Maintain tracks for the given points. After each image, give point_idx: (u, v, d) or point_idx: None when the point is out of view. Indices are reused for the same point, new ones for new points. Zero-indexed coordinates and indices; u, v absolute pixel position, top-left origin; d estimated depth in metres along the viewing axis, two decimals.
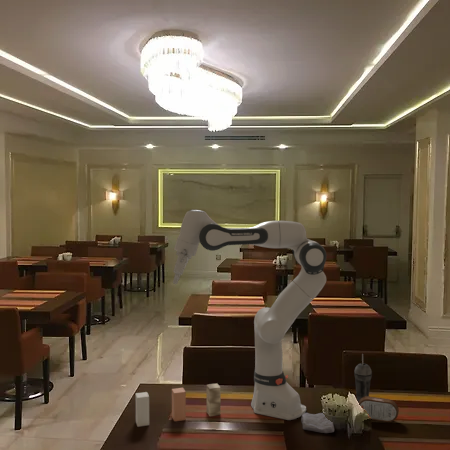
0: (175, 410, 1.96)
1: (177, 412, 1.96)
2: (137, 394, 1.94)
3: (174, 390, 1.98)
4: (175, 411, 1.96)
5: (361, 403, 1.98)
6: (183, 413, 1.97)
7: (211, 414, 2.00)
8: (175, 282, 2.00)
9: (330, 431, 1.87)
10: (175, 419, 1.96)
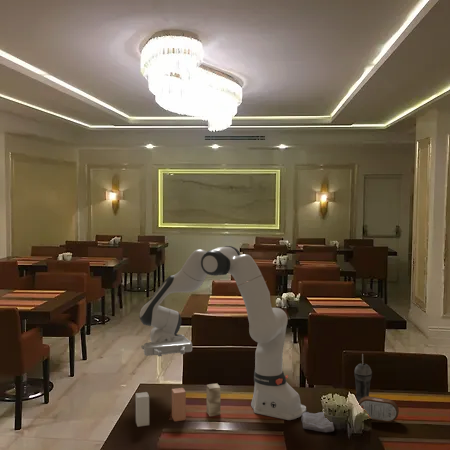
0: (175, 410, 1.96)
1: (177, 412, 1.96)
2: (137, 394, 1.94)
3: (174, 390, 1.98)
4: (175, 411, 1.96)
5: (361, 403, 1.98)
6: (183, 413, 1.97)
7: (211, 414, 2.00)
8: (158, 353, 2.08)
9: (330, 430, 1.88)
10: (175, 419, 1.96)
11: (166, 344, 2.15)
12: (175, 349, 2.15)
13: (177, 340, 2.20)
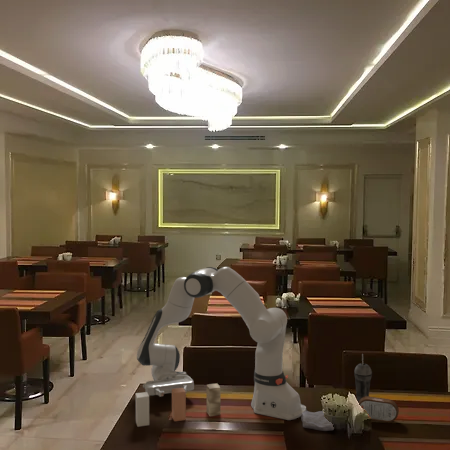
0: (175, 410, 1.96)
1: (177, 412, 1.96)
2: (137, 394, 1.94)
3: (174, 390, 1.98)
4: (175, 411, 1.96)
5: (361, 403, 1.98)
6: (183, 413, 1.97)
7: (211, 414, 2.00)
8: (159, 394, 2.07)
9: (330, 429, 1.89)
10: (175, 419, 1.96)
11: (168, 383, 2.14)
12: (177, 387, 2.14)
13: (179, 378, 2.19)
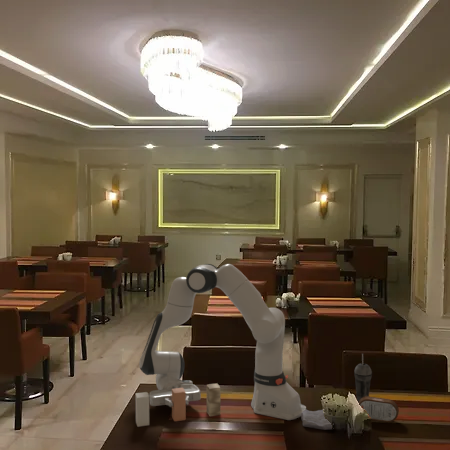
0: (175, 410, 1.96)
1: (177, 412, 1.96)
2: (137, 394, 1.94)
3: (174, 390, 1.98)
4: (175, 411, 1.96)
5: (361, 403, 1.98)
6: (183, 413, 1.97)
7: (211, 414, 2.00)
8: (169, 404, 1.97)
9: (330, 428, 1.90)
10: (175, 419, 1.96)
11: None
12: None
13: (185, 387, 2.09)
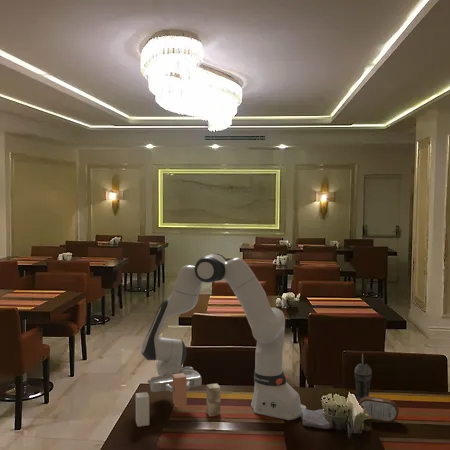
0: (176, 395, 1.95)
1: (178, 397, 1.96)
2: (137, 394, 1.94)
3: (175, 375, 1.97)
4: (176, 396, 1.95)
5: (361, 403, 1.98)
6: (184, 399, 1.96)
7: (211, 414, 2.00)
8: (170, 389, 1.96)
9: None
10: (176, 404, 1.95)
11: None
12: None
13: (185, 373, 2.08)
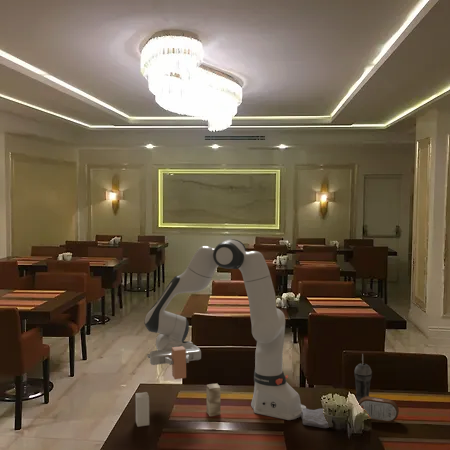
0: (175, 368, 1.95)
1: (177, 370, 1.95)
2: (137, 394, 1.94)
3: (174, 348, 1.97)
4: (175, 369, 1.95)
5: (361, 403, 1.98)
6: (183, 371, 1.96)
7: (211, 414, 2.00)
8: (169, 362, 1.96)
9: None
10: (175, 377, 1.95)
11: None
12: None
13: (185, 347, 2.07)
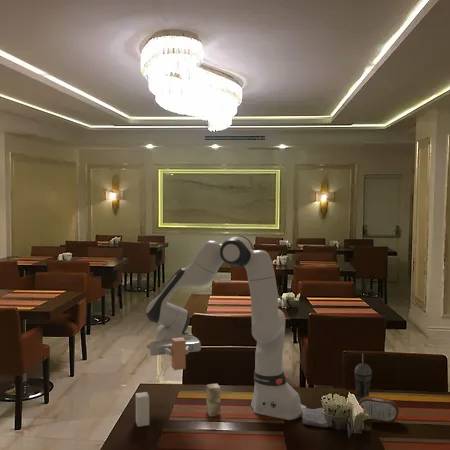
0: (175, 359, 1.94)
1: (176, 361, 1.95)
2: (137, 394, 1.94)
3: (174, 339, 1.96)
4: (175, 360, 1.94)
5: (361, 403, 1.98)
6: (183, 362, 1.96)
7: (211, 414, 2.00)
8: (169, 353, 1.95)
9: None
10: (175, 368, 1.95)
11: None
12: None
13: None
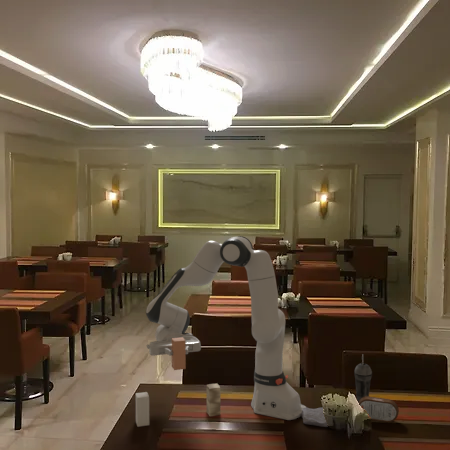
0: (175, 359, 1.94)
1: (176, 361, 1.95)
2: (137, 394, 1.94)
3: (174, 339, 1.96)
4: (175, 360, 1.94)
5: (361, 403, 1.98)
6: (183, 362, 1.96)
7: (211, 414, 2.00)
8: (169, 353, 1.96)
9: None
10: (175, 368, 1.95)
11: None
12: None
13: None
